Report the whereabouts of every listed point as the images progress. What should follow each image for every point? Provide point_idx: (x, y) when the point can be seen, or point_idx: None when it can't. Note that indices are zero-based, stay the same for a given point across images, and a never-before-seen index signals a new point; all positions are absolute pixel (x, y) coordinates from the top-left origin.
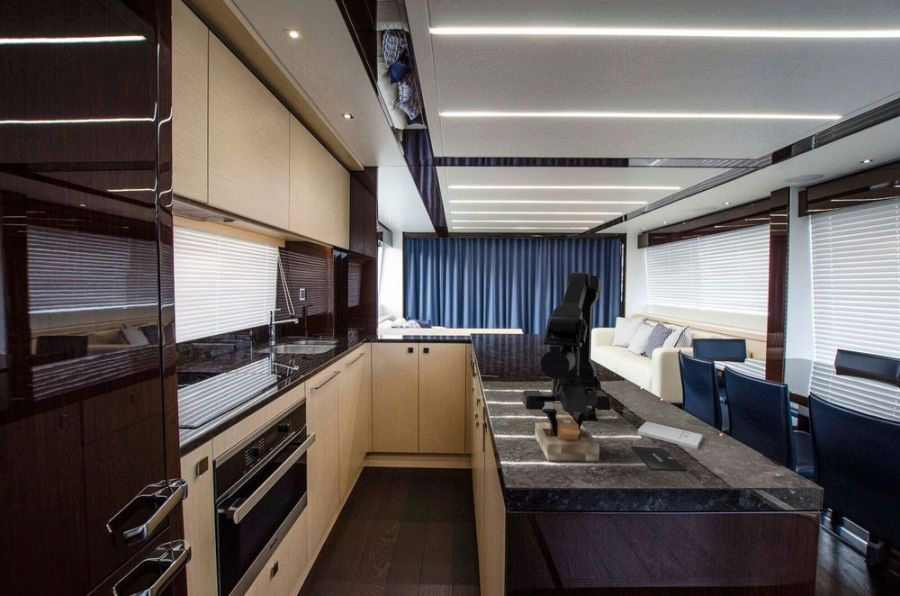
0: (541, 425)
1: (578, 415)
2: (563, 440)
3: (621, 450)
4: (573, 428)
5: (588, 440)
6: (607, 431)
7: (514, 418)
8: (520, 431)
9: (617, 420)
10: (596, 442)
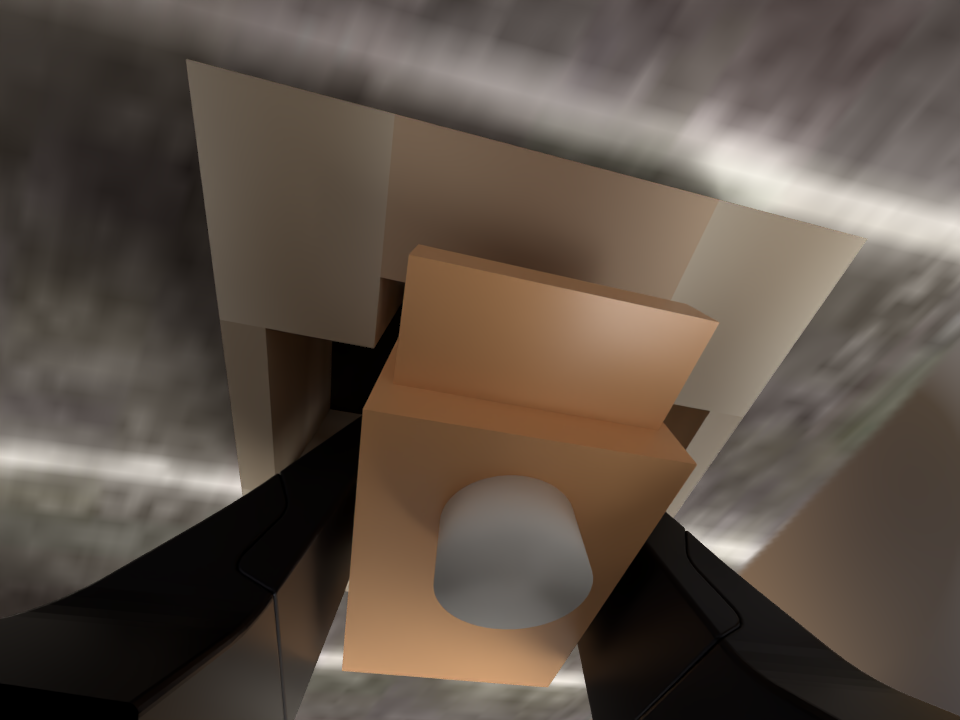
0: None
1: (238, 652)
2: None
3: (36, 263)
4: (477, 373)
5: (306, 233)
6: (94, 518)
7: None
8: None
9: (3, 607)
10: (212, 143)
